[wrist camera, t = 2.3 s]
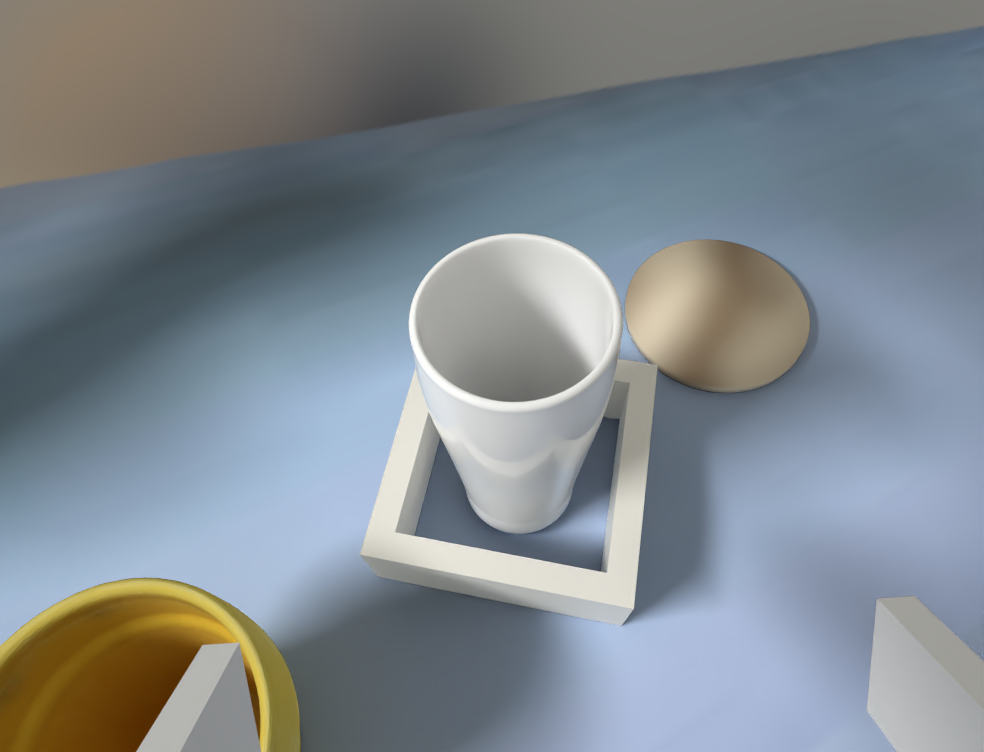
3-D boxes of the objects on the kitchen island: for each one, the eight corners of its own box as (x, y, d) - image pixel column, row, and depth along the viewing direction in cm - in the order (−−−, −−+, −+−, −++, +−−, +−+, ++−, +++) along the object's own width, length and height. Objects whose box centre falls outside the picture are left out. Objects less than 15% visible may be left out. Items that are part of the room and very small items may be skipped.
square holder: (377, 576, 32) (359, 554, 28) (435, 370, 37) (426, 330, 34) (621, 626, 30) (634, 609, 27) (644, 403, 36) (657, 364, 32)
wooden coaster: (615, 377, 36) (616, 371, 36) (633, 236, 41) (635, 229, 41) (808, 406, 35) (812, 401, 35) (804, 257, 40) (808, 251, 39)
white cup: (615, 486, 33) (673, 313, 20) (518, 582, 31) (512, 458, 18) (520, 399, 36) (516, 197, 23) (423, 483, 34) (360, 313, 21)
